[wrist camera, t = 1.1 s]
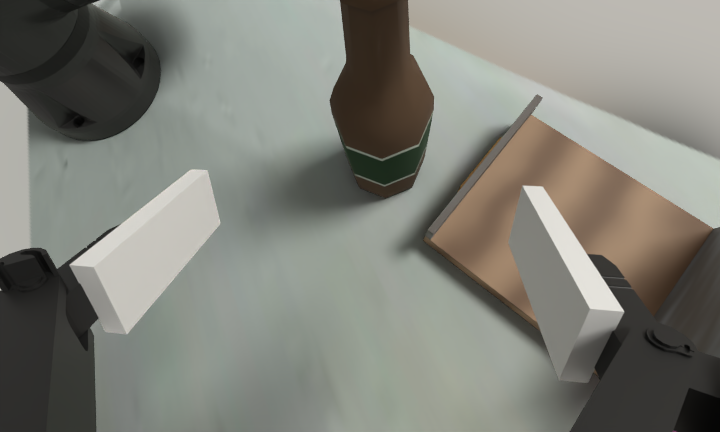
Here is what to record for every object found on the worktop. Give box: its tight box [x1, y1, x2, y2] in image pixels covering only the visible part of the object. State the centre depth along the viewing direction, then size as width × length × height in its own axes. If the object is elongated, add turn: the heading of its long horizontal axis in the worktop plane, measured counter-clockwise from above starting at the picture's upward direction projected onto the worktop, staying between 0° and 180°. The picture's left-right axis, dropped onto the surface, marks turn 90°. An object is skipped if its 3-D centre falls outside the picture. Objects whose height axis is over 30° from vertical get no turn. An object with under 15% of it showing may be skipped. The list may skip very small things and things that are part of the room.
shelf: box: [423, 95, 720, 376], centre depth 28 cm, size 20×16×14 cm
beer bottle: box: [330, 0, 434, 198], centre depth 27 cm, size 8×8×24 cm
